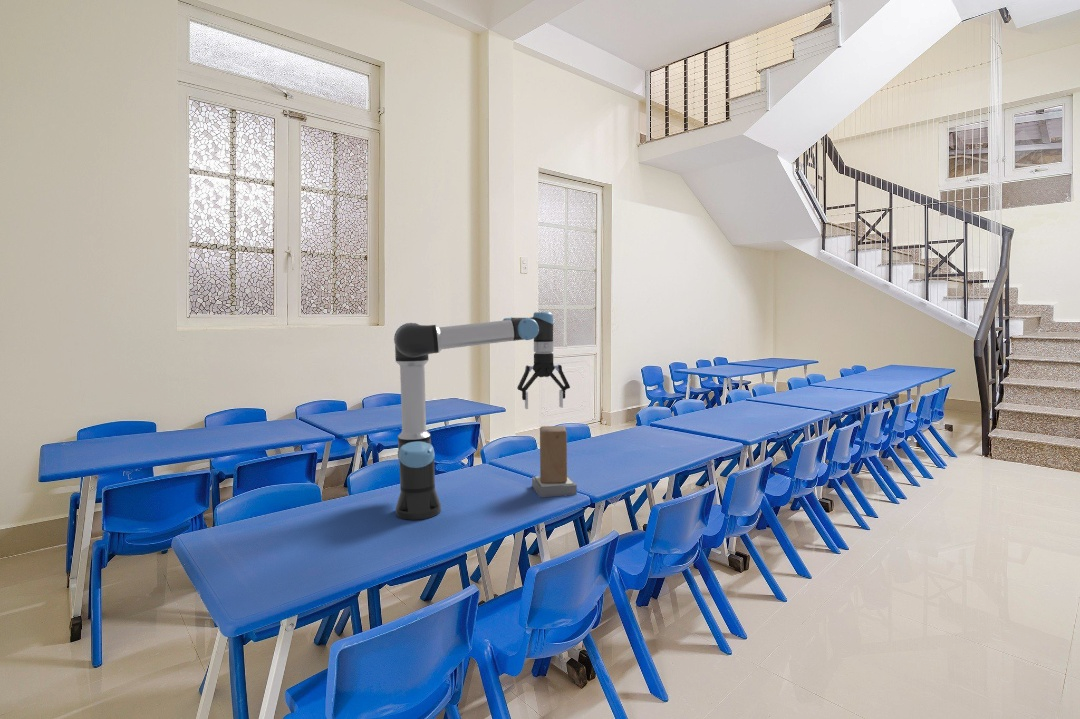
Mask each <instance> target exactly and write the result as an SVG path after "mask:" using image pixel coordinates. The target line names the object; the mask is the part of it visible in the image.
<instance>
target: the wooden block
mask: <svg viewBox="0 0 1080 719" xmlns="http://www.w3.org/2000/svg"><path fill="white" fill-rule="evenodd" d="M566 429H567V428H566V427H565V426H564V425H553V426H551V425H550V426H549V425H547V426H546V425H544V426H543V425H542V426H540V428H539V465H540V467H539V468H540V470H539V471H540V472H539V473H540V474H539V476H540V478H541V483H565V482H567V476H568V433H567V432H568V431H567V430H566Z"/></svg>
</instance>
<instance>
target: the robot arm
mask: <svg viewBox="0 0 1080 719" xmlns="http://www.w3.org/2000/svg"><path fill="white" fill-rule="evenodd" d="M554 324H555V323H554V315H553V313H552V312H550V311H548V312H547V311H545V312H543V311H539V312H537V311H535V312H533V315H532V317H531V316H530V317H505V318H503V319H502V320H497V321H487V322H478V323H467V324H458V325H449V326H441V327H439V326H438V325H437V324H431V325H430V324H429V325H428V324H427V325H425V324H424V325H422V324H418V323H415V322H407V323H404V324H402V325H400V326H399V327H398V328H397V329H396V331H395V334H394V338H393V343H394V352H395V354H394V357H395V358H394V359H395V363H397V365H399V368H400V369H399V371H400V372H399V373H400V376H399V377H400V378H399V379H400V406H401V408H400V409H401V432H400V433H399V434H398V435H397V444H398V446H397V449H398V450H397V458H398V464H399V465H398V466H399V483H400V488H399V489H400V493H399V496H398V499H397V503H396V506H395V515H396V516H397V518H400V519H402V520H409V521H414V520H415V521H416V520H426V519H429V518H433V517H436V516H437V515H439V514H440V513H441V512H442V509H441V508H442V507H441V506H442V505H441V502H440V499H439V496H438V493H437V491H436V481H435V480H436V478H435V477H436V475H435V458H436V457H435V456H436V453H435V450H434V449H435V448H434V447H433V445H432V439H431V433H430V432H429V431H428V430H427V413H426V409H427V408H426V380H425V379H426V378H425V376H426V375H425V373H426V372H425V369H426V368H425V365H426V364H427V363H428V362H429V355H431V354H437V353H439V354H440V352H441V351H442V350H446V349H448V350H449V349H455V348H464V347H472V346H473V347H474V346H481V345H487V344H488V345H489V344H498V343H506V342H507V343H508V342H515V341H524V340H525V341H530V340H533V352H534V354H533V366H531V365H528V364H527V365H525V369H524V373H523V375H522V377H521V379H520V380H519V383H518V385H517V387H516V389H517V390H518V391H520V392H521V398H522V400H523V401H524V409H525V410H528V409H529V392H528V391H527V390H528V389H529V388H530V387H531V386H532V384H533V383H534V382H535V380H536V379H538V377H539V378H549V377H550V378H551V379H552V380H553V381H554V383H555V384H556V385H557V386H558V387H559V388H560V389H559V391H558V397H559V398H558V400H559V401H558V402H559V403H558V404H559V406H558V407H560V408H564V399H566V391H567V390H568V389H571V385H570V383H569V382H568V380H567V377H566V376H565V373H564V371H563V367H562V365H561V364H557V365H555V364H554V353H553V352H554ZM532 370H533V374H532V376H531V377H529V379H528V380H527V378H528V376H529V374H530V372H531V371H532ZM555 370H556V372H558V374H559V376H560V378H561V380H562V383H561V381H560V380H559V379H558V377H557V376H556V375H555V374H554V371H555ZM526 381H527V382H526ZM525 382H526V383H525ZM563 384H564V385H563Z"/></svg>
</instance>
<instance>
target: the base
mask: <svg viewBox="0 0 1080 719" xmlns="http://www.w3.org/2000/svg"><path fill="white" fill-rule="evenodd" d="M531 486H532V488H533V489H534V491H535V492H536V493H537V495H538V497H539V498H550V497H560V496H571V495H577V490H578V485H577V484H576V482H574V481H573V480H572V478H570V477H569V475H567V482H565V483H541V478H540V475H538V476H535V477H534V476H532V477H531Z"/></svg>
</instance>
